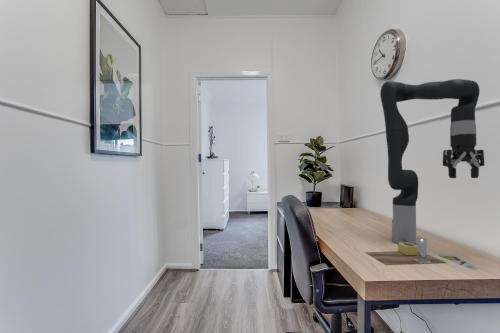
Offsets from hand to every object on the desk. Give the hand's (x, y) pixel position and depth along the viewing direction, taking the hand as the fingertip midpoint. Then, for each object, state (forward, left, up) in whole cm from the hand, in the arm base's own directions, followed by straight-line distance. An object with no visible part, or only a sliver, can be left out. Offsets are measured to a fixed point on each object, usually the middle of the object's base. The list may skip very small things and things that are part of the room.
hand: (463, 178), depth 98 cm
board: (-1, -23, -30) cm, 38 cm away
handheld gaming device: (+1, -5, -31) cm, 31 cm away
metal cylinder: (+3, -19, -30) cm, 36 cm away
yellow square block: (-5, -18, -28) cm, 34 cm away
